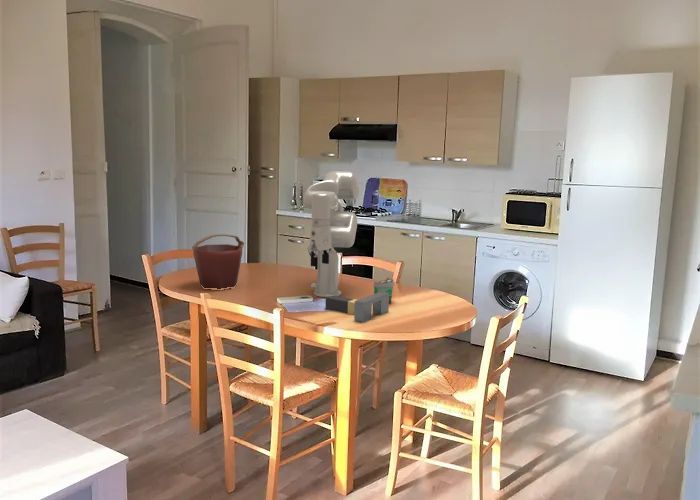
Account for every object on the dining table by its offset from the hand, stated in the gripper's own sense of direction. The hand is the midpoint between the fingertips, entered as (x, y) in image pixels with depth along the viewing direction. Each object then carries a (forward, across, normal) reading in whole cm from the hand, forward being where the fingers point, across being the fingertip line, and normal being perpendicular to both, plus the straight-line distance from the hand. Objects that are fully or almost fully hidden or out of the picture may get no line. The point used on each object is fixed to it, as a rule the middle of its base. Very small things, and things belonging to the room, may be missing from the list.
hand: (319, 264), depth 259 cm
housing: (+18, 0, -26) cm, 31 cm away
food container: (+18, +22, -20) cm, 35 cm away
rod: (+18, 0, -12) cm, 22 cm away
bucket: (+18, 0, +58) cm, 61 cm away
